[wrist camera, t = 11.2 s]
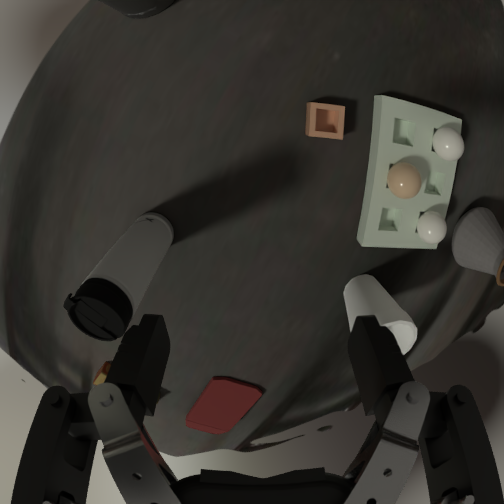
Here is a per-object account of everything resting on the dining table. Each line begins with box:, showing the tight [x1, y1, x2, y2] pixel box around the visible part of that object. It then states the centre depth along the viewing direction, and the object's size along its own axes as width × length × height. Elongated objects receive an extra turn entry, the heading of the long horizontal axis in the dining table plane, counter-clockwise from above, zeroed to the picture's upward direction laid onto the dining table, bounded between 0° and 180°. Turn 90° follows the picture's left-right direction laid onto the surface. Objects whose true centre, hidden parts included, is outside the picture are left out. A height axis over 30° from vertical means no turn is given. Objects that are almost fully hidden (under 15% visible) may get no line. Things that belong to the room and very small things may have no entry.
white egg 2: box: [432, 127, 464, 161], centre depth 28 cm, size 5×5×5 cm
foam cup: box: [344, 274, 417, 355], centre depth 38 cm, size 10×9×13 cm
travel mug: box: [63, 212, 174, 341], centre depth 30 cm, size 6×7×20 cm
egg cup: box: [305, 102, 345, 140], centre depth 30 cm, size 4×4×2 cm
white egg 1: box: [417, 211, 447, 244], centre depth 34 cm, size 5×5×5 cm
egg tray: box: [357, 95, 462, 249], centre depth 33 cm, size 21×14×2 cm, turn 179°
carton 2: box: [186, 377, 262, 434], centre depth 61 cm, size 12×5×25 cm
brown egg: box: [387, 162, 422, 199], centre depth 31 cm, size 5×5×5 cm
